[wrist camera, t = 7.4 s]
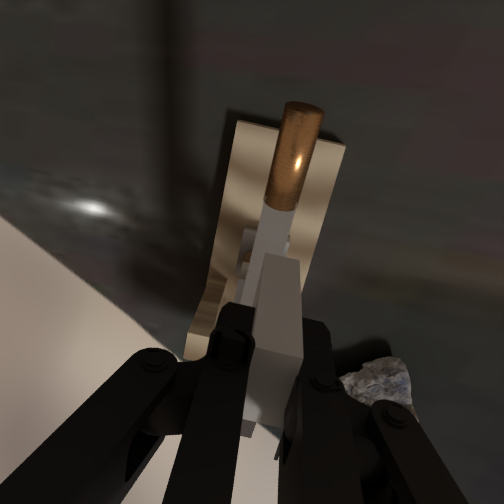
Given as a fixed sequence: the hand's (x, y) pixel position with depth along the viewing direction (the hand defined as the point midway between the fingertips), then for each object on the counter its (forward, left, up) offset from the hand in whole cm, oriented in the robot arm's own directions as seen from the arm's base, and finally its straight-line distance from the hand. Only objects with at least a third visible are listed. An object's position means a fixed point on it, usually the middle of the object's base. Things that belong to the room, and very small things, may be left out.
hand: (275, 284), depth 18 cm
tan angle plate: (+8, 0, -28) cm, 29 cm away
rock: (+27, +17, -28) cm, 43 cm away
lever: (+9, 0, -19) cm, 21 cm away
